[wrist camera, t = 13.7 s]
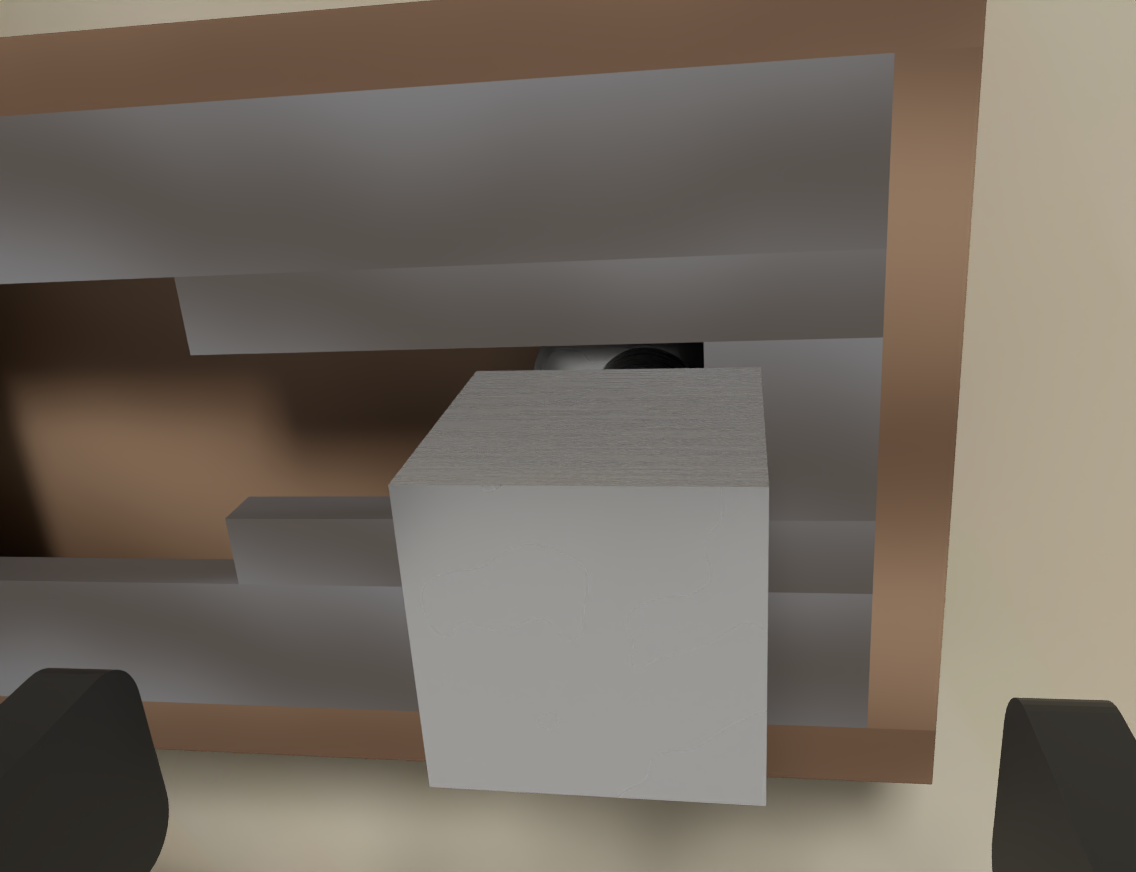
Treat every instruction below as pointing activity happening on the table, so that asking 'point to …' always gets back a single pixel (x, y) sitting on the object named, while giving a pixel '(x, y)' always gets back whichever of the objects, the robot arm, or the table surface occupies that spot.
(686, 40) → the keyhole box
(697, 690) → the keyhole stud
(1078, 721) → the robot arm
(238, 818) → the table surface
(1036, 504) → the table surface
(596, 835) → the table surface
